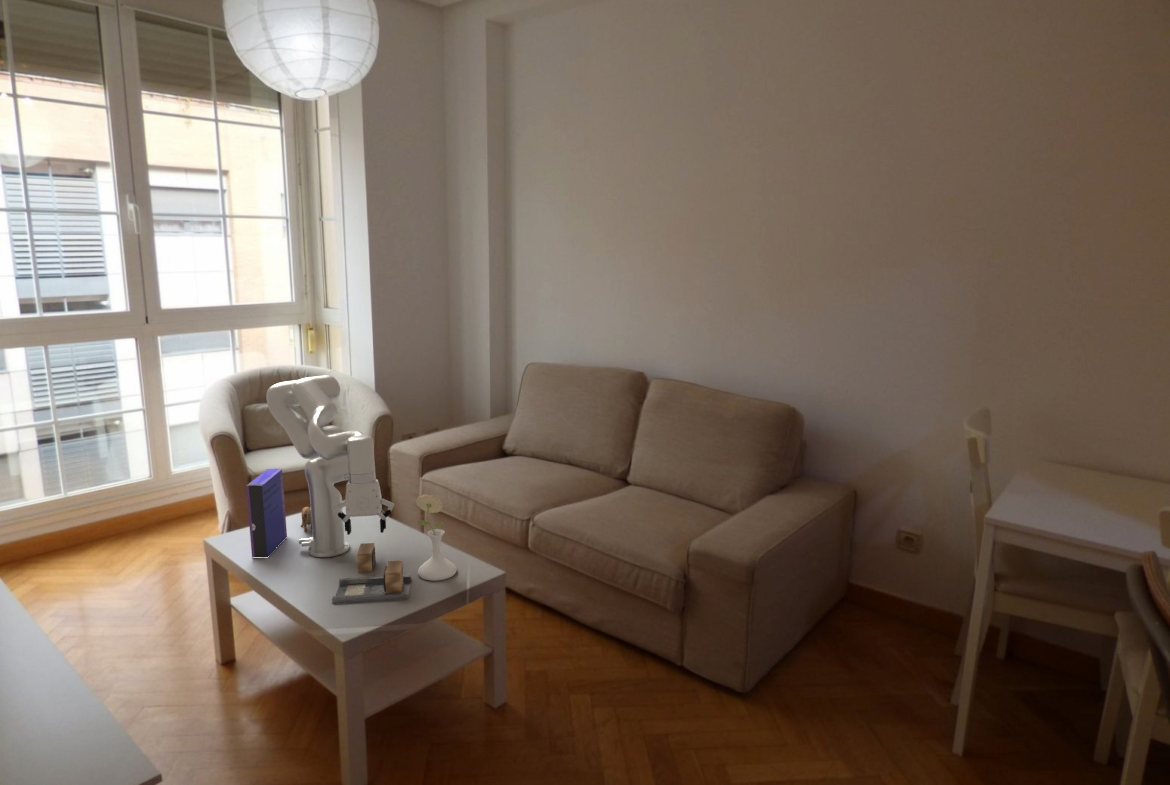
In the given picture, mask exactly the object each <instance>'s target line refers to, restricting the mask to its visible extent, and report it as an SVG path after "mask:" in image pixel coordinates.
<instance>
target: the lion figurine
mask: <svg viewBox="0 0 1170 785" xmlns="http://www.w3.org/2000/svg"><path fill="white" fill-rule="evenodd" d="M309 525H310V530H311V531H312V519H311V507H309V506H305V507H303V508H302V510H301V524H300V527H301V528H303V533H304V532H305V534H306V532H307V533H308V527H307V526H309ZM303 526H304V527H303Z"/></svg>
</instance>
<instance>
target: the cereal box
mask: <svg viewBox="0 0 1170 785" xmlns="http://www.w3.org/2000/svg"><path fill="white" fill-rule="evenodd" d="M245 489H246V501H247V511H248V512H247V513H248V523H249V524H248V525H249V537H250V538H249V539H250V548H251V558H252V557H268V556H269V555H270V554H271V553H272V552H273V551H274V550H275V549H276V547H278V545H279V544H280V543H281V542H282V541H283V540H284V539H285V538H286V537H287V538H288V534H287V533H288V532H287V519H286V506H285V505H286V504H285V503H286V502H285V493H284V492H285V490H284V478H283V469H282V468H267V469H266V470H265V471H263V472H262V473H260V475H258V476H257V477H255V478H254V479H253V480H252V481H250V482H249V483H248V484H246V485H245ZM287 538H286V539H287ZM286 539H285V540H286ZM285 540H284V541H285ZM284 541H283V542H284ZM283 542H282V543H283ZM282 543H281V544H282ZM281 544H280V545H281ZM280 545H279V546H280ZM278 548H279V547H278ZM276 550H277V549H276ZM276 550H275V551H276ZM275 551H274V552H275ZM274 552H273V553H274ZM273 553H272V554H273ZM272 554H271V555H272ZM271 555H270V556H271ZM270 556H269V557H270ZM269 557H268V558H269Z"/></svg>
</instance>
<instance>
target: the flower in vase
mask: <svg viewBox="0 0 1170 785" xmlns="http://www.w3.org/2000/svg"><path fill="white" fill-rule="evenodd" d="M441 501H442V500H441V499H439V498H438V497H434V495H432V494H431V495H429V494H422V495H421V496H420V495H419V496H418V497H416V502H415V504H416V505H417V507H418V508H419V509H420V510H422V511H424V512H427V513H426V520H424V519H420V520H418V521H417V522H416V525H421V526H423V527H427V526H429V527H430V530H428V531H427V535H428V536H429V538H430V540H431V545H432V554H431V557H430V558H428V559H427V560H426V561H425V562H424V563H422V564H421V565H420V567H419V568H418V569H417V570H418V571H417V575H418V577H420V578H421V579H422V580H426V581H434V582H436V581H438V582H439V581H442V580H443V581H444V580H447V579H450V578H452V577H453V576H454V575H456V573H457V567H456V565H455V563H453V562H452V561H450V560H449V559H447V558H445V557H444V556H443V554H442V552H441V542H442V539H443V536H444V535H445V530H443V529H438V528H440V527H441V526H442V525H443V524H444V523H445V521H440V522H436V524H435V525H434V526H433V527H432V525H431V523H430V521H429V514H430V513H431V514H435V513H437V514H438V513H439V512H440V513H441V512H442V511H443V507H444V504H443V503H442V502H441Z"/></svg>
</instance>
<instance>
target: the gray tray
mask: <svg viewBox="0 0 1170 785" xmlns="http://www.w3.org/2000/svg"><path fill="white" fill-rule="evenodd" d="M411 582H412V575H411V574H403V588H402V592H400V593H386V592H384V578H383V576H366V577H365V576H364V577H363V576H362V577H346V578H339V580H338V583H339V586H338V588H337V591H336V594H335V595H334V596H332V598H331V603H332V604H333V605H337V604H349V603H350V604H351V603H365V602H366V603H369V602H382V601H383V602H384V601H385V602H386V601H398V600H399V601H401V600H402V601H403V600H409V599H408V598H409V594H410V588H411Z"/></svg>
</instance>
